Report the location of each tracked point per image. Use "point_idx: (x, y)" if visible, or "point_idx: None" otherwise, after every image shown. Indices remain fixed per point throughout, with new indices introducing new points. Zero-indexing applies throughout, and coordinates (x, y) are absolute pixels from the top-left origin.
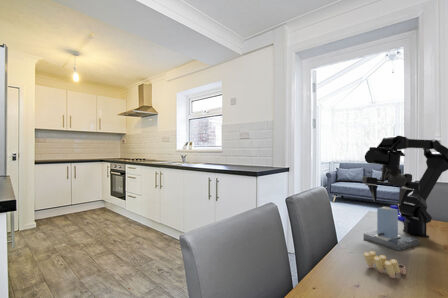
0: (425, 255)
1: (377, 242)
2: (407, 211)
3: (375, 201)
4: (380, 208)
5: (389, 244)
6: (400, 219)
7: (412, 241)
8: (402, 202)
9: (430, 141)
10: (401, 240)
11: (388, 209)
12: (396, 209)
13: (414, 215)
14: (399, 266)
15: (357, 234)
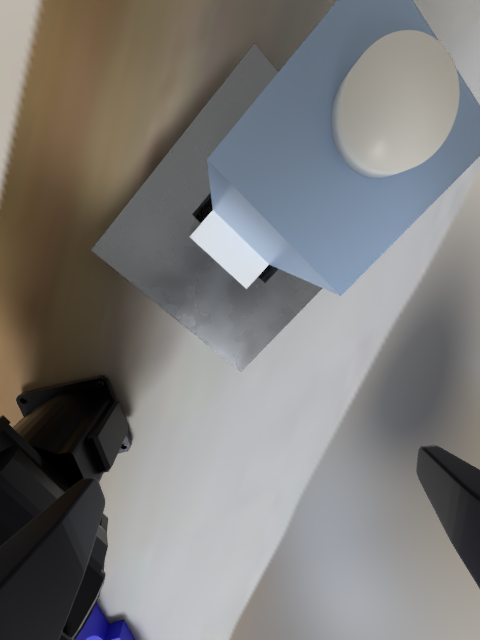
0: (118, 50)
1: None
2: (49, 498)
3: (432, 447)
4: (461, 125)
5: None
6: (96, 617)
7: (140, 188)
8: (46, 516)
9: None
10: (204, 165)
11: (375, 53)
12: (226, 158)
13: (12, 450)
14: None
15: (385, 283)
